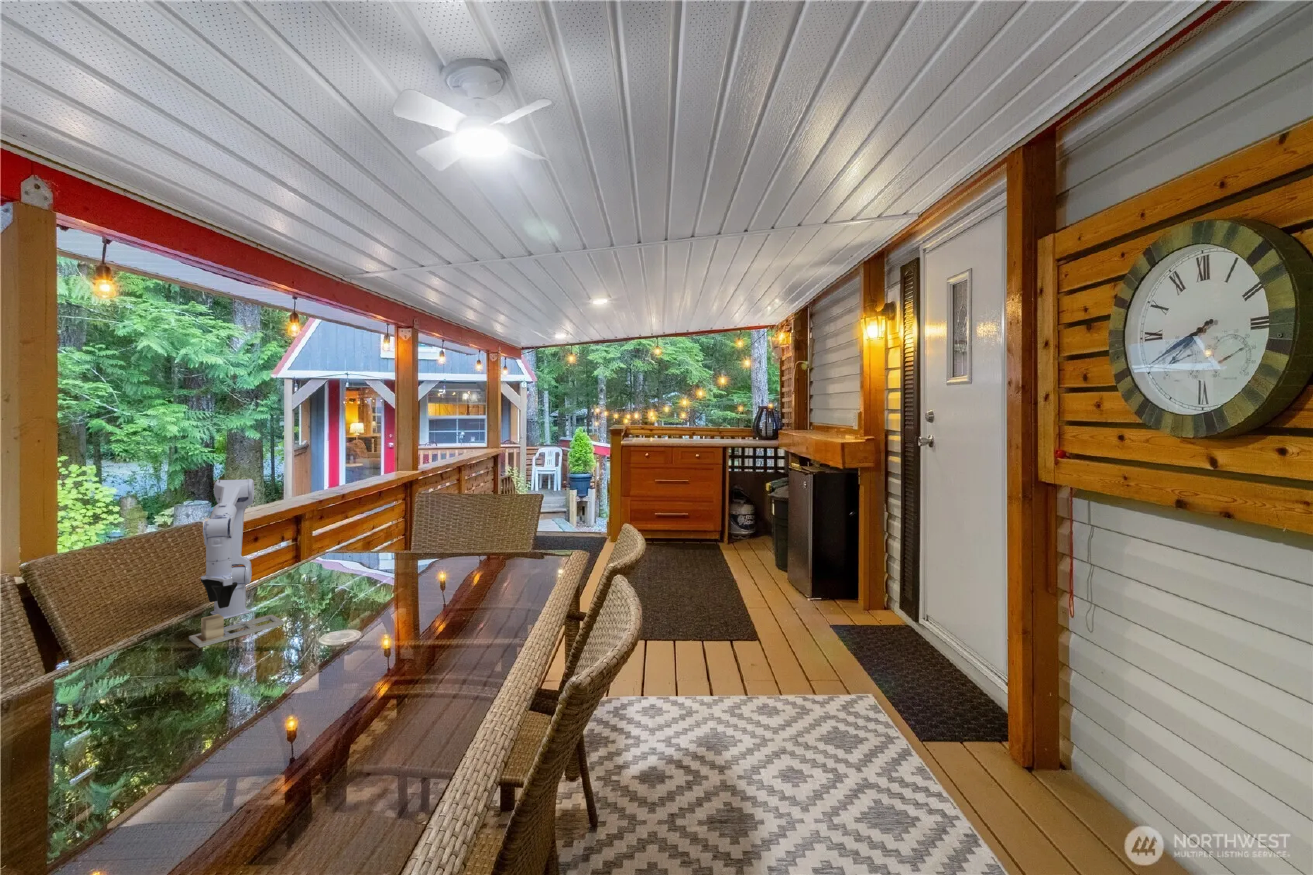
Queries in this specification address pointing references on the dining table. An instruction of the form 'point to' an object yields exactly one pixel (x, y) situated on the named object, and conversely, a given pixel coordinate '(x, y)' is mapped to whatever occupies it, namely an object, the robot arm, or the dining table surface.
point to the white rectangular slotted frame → (252, 628)
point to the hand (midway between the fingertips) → (219, 604)
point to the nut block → (212, 627)
